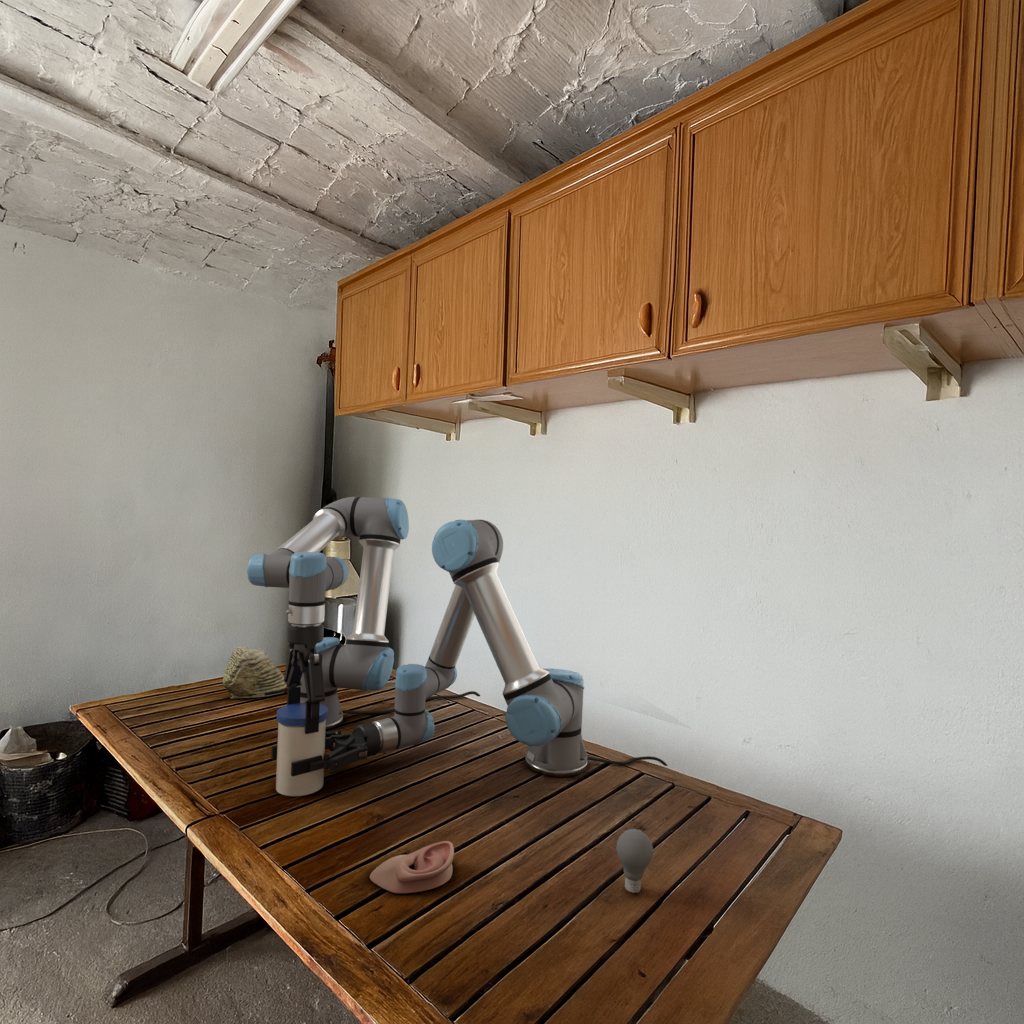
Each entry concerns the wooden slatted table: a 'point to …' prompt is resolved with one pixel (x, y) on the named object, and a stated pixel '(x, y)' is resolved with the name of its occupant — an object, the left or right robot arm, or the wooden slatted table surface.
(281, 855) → the wooden slatted table surface
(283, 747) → the jar
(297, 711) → the lid
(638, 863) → the light bulb
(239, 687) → the fossil
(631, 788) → the wooden slatted table surface
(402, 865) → the anatomical model
